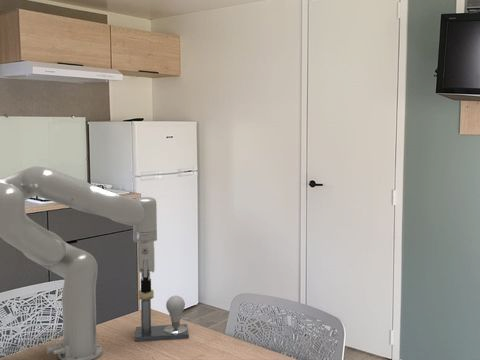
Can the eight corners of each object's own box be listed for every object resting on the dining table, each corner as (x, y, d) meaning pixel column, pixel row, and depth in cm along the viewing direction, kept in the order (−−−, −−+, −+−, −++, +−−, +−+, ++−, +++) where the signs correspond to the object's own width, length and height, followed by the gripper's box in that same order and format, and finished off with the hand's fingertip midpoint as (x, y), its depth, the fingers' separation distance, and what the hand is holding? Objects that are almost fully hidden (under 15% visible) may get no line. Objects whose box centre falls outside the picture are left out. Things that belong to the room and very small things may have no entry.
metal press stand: (134, 341, 169) (134, 304, 168) (136, 331, 178) (135, 296, 176) (188, 338, 171) (188, 302, 170) (186, 328, 180) (186, 293, 179)
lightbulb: (183, 332, 172) (183, 299, 171) (165, 331, 173) (164, 298, 172) (186, 325, 178) (185, 293, 177) (168, 324, 179) (167, 293, 178)
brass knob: (138, 313, 170) (137, 294, 169) (138, 308, 175) (138, 289, 174) (153, 313, 171) (153, 293, 170) (153, 308, 176) (153, 288, 175)
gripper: (157, 240, 164) (157, 298, 166) (156, 231, 179) (157, 284, 180) (132, 241, 163) (133, 299, 164) (134, 231, 177) (135, 285, 179)
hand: (146, 291), depth 172 cm, fingers closed
